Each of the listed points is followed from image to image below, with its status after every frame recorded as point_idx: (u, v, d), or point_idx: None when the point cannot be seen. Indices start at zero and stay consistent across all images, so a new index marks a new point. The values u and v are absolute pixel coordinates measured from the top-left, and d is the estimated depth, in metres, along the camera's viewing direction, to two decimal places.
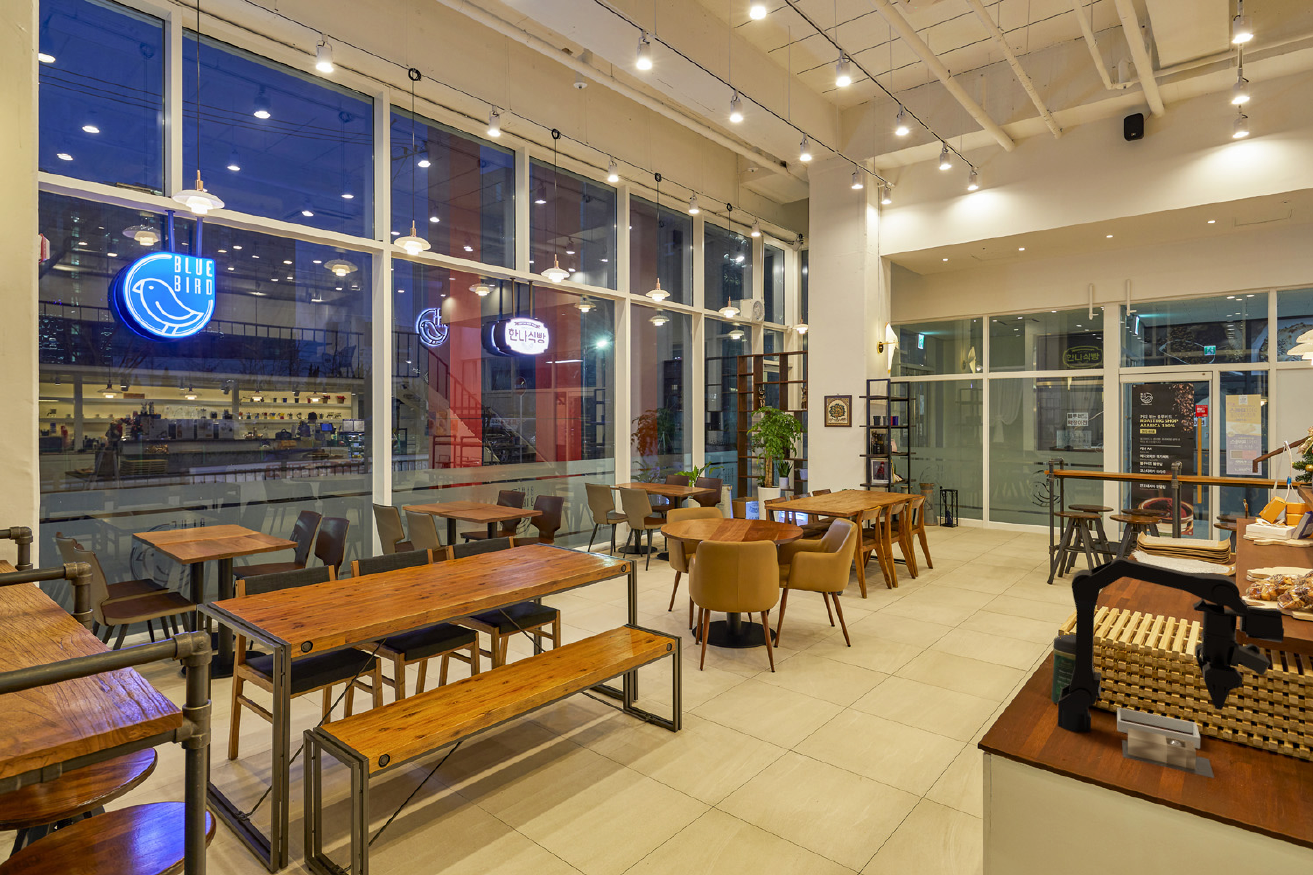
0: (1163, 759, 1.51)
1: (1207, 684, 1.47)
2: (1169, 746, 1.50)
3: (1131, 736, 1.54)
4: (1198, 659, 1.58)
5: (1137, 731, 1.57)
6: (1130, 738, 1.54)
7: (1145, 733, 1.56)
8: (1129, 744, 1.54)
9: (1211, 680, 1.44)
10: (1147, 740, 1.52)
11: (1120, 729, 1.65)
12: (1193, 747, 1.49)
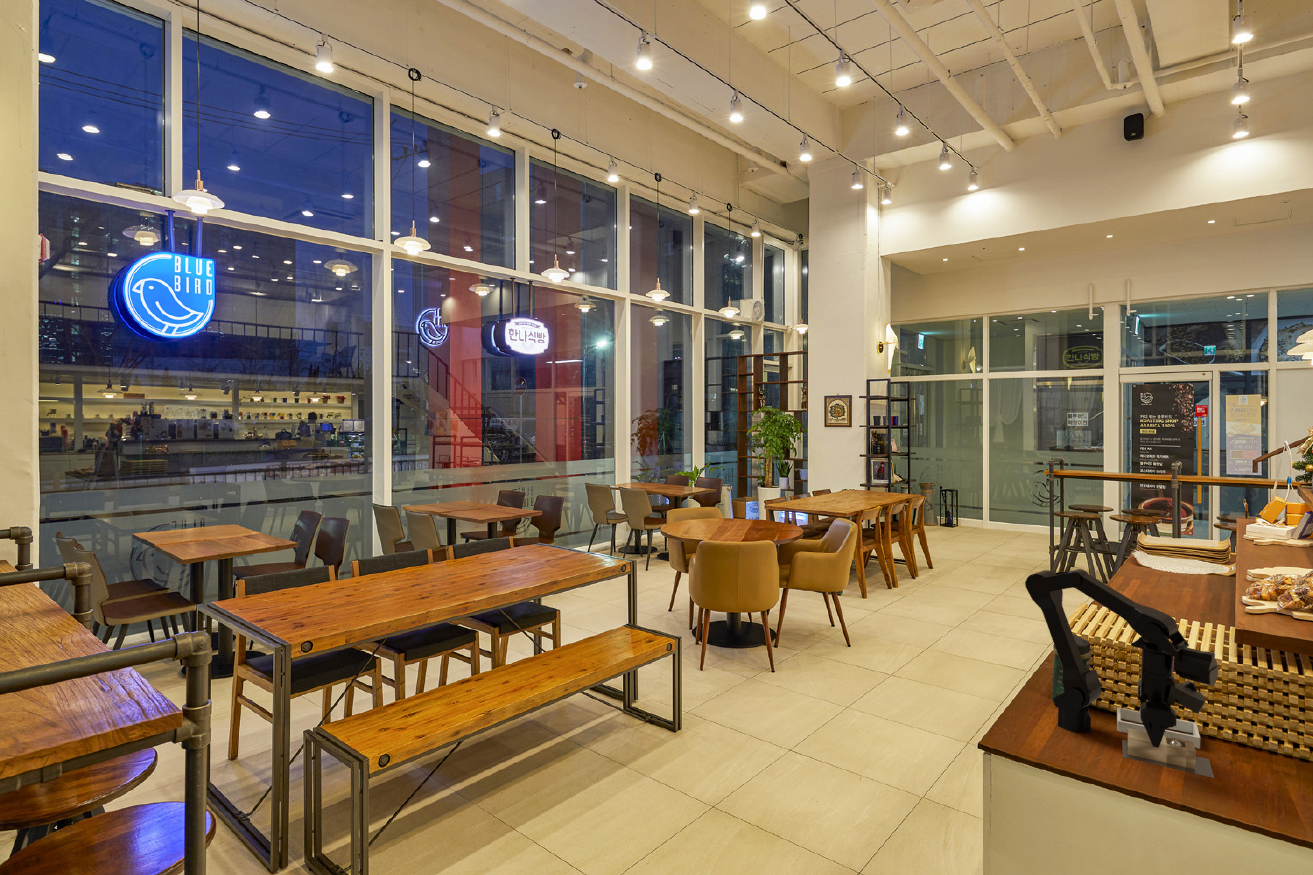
0: (1163, 759, 1.51)
1: (1144, 722, 1.49)
2: (1169, 746, 1.50)
3: (1131, 736, 1.54)
4: (1139, 695, 1.60)
5: (1137, 731, 1.57)
6: (1130, 738, 1.54)
7: (1145, 733, 1.56)
8: (1129, 744, 1.54)
9: (1147, 719, 1.46)
10: (1147, 740, 1.52)
11: (1120, 729, 1.65)
12: (1193, 747, 1.49)
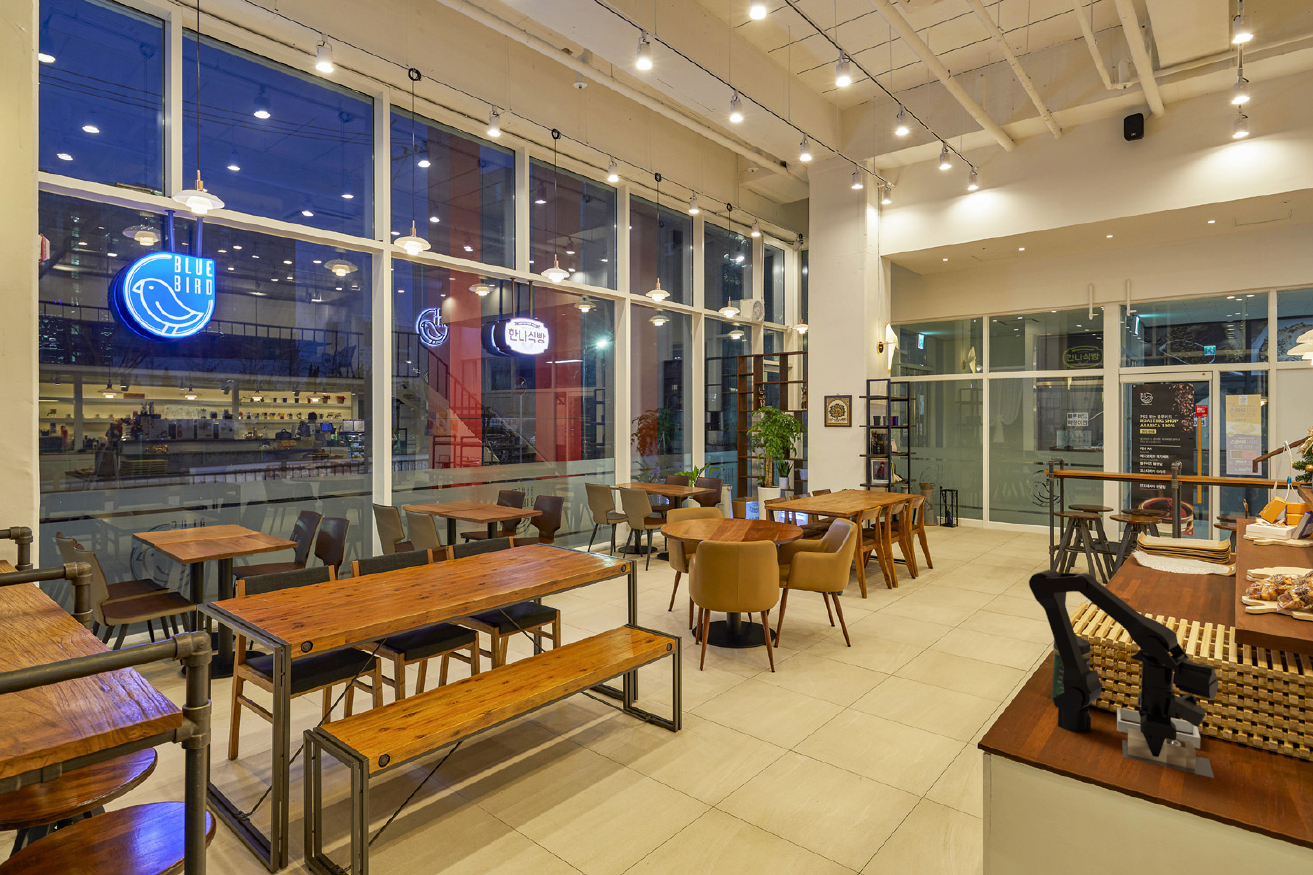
0: (1163, 759, 1.51)
1: None
2: (1169, 746, 1.50)
3: (1131, 736, 1.54)
4: (1140, 711, 1.58)
5: (1137, 731, 1.57)
6: (1130, 738, 1.54)
7: None
8: (1129, 744, 1.54)
9: (1147, 732, 1.47)
10: None
11: (1120, 729, 1.65)
12: (1193, 747, 1.49)
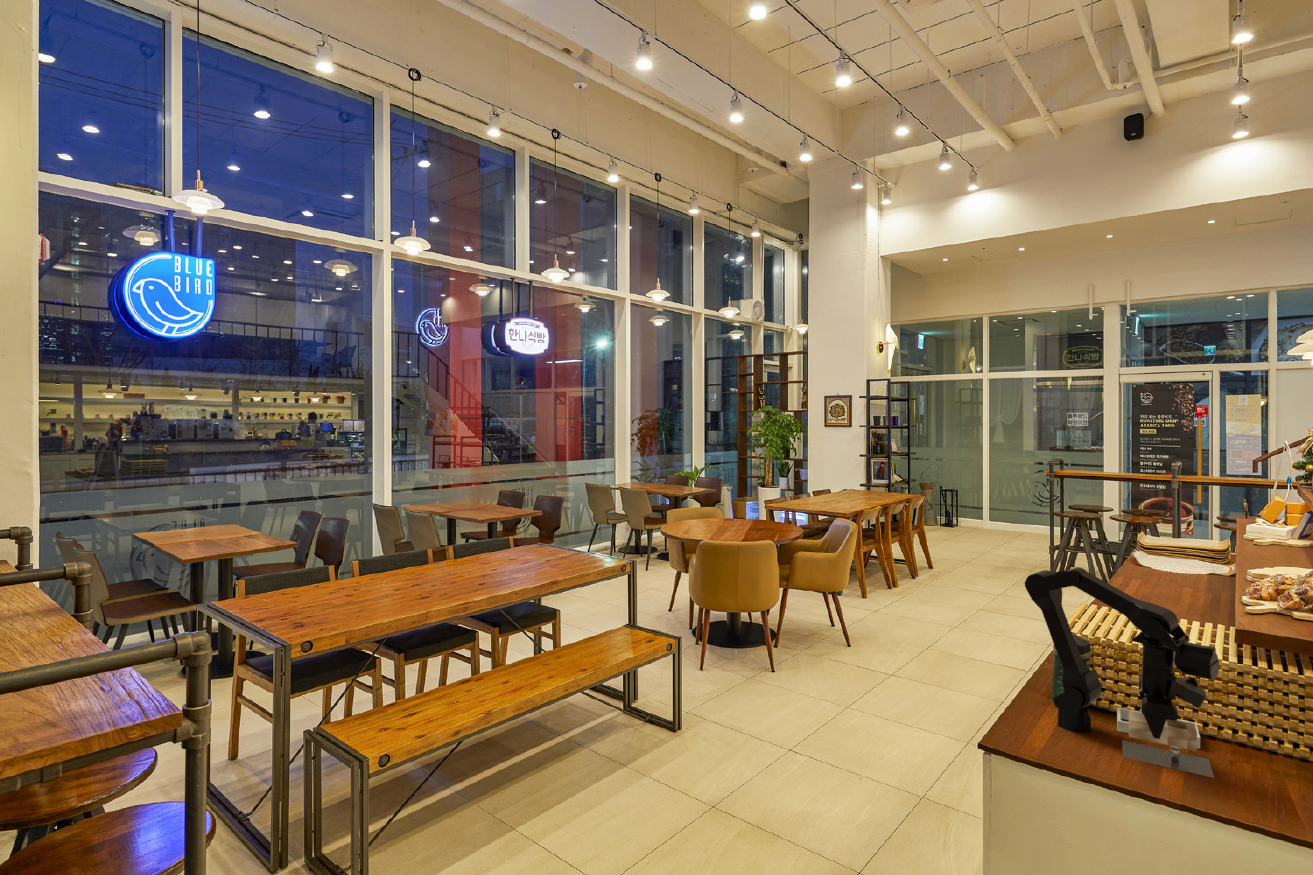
0: (1164, 741, 1.51)
1: None
2: (1170, 728, 1.50)
3: (1132, 718, 1.54)
4: (1141, 693, 1.58)
5: (1138, 714, 1.56)
6: (1131, 720, 1.54)
7: None
8: (1130, 726, 1.54)
9: (1148, 714, 1.46)
10: None
11: (1120, 729, 1.65)
12: (1194, 729, 1.49)
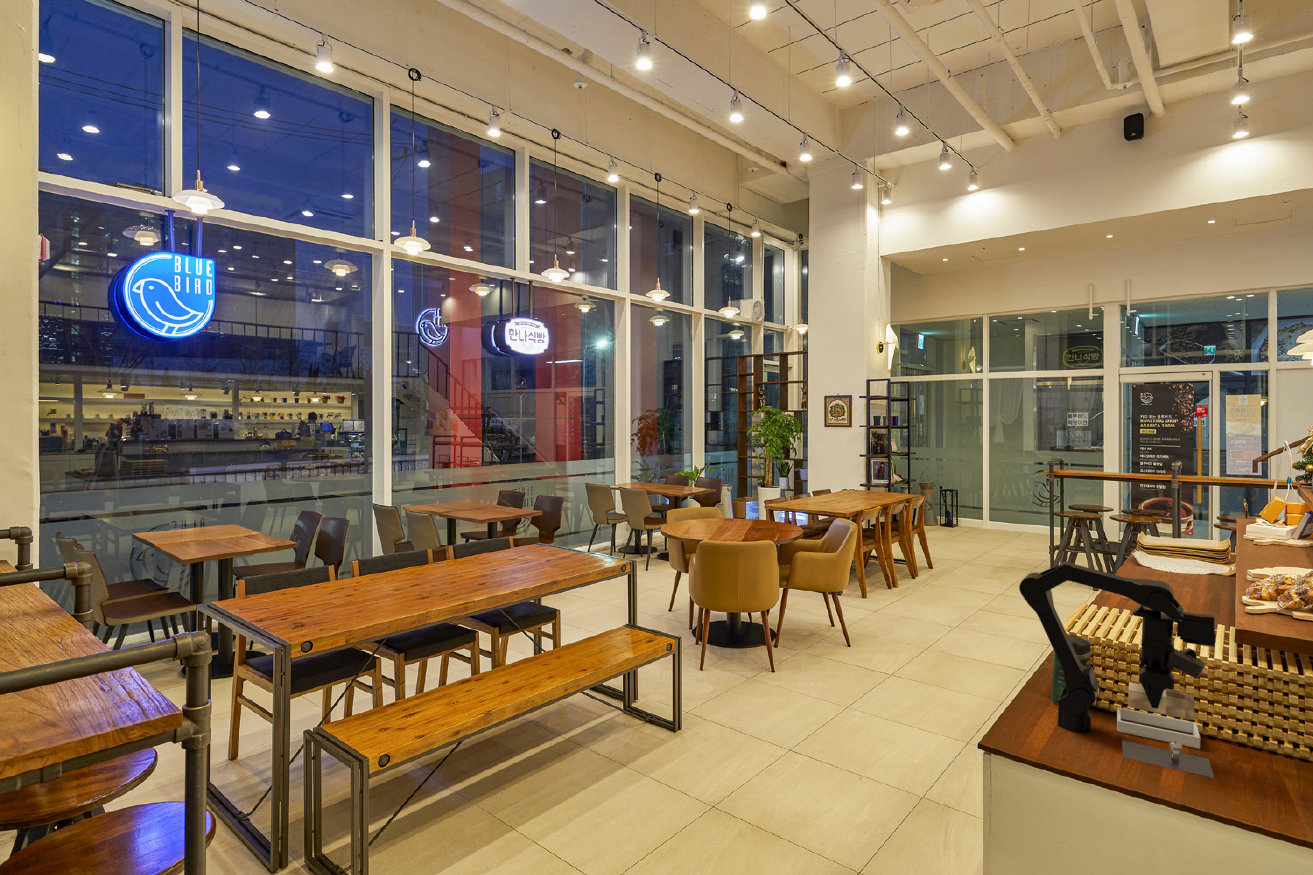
0: (1162, 711, 1.54)
1: (1143, 684, 1.54)
2: (1168, 698, 1.53)
3: (1131, 689, 1.58)
4: (1141, 665, 1.62)
5: (1138, 685, 1.60)
6: (1130, 691, 1.57)
7: None
8: (1129, 696, 1.58)
9: (1145, 683, 1.50)
10: None
11: (1120, 729, 1.65)
12: (1192, 699, 1.52)
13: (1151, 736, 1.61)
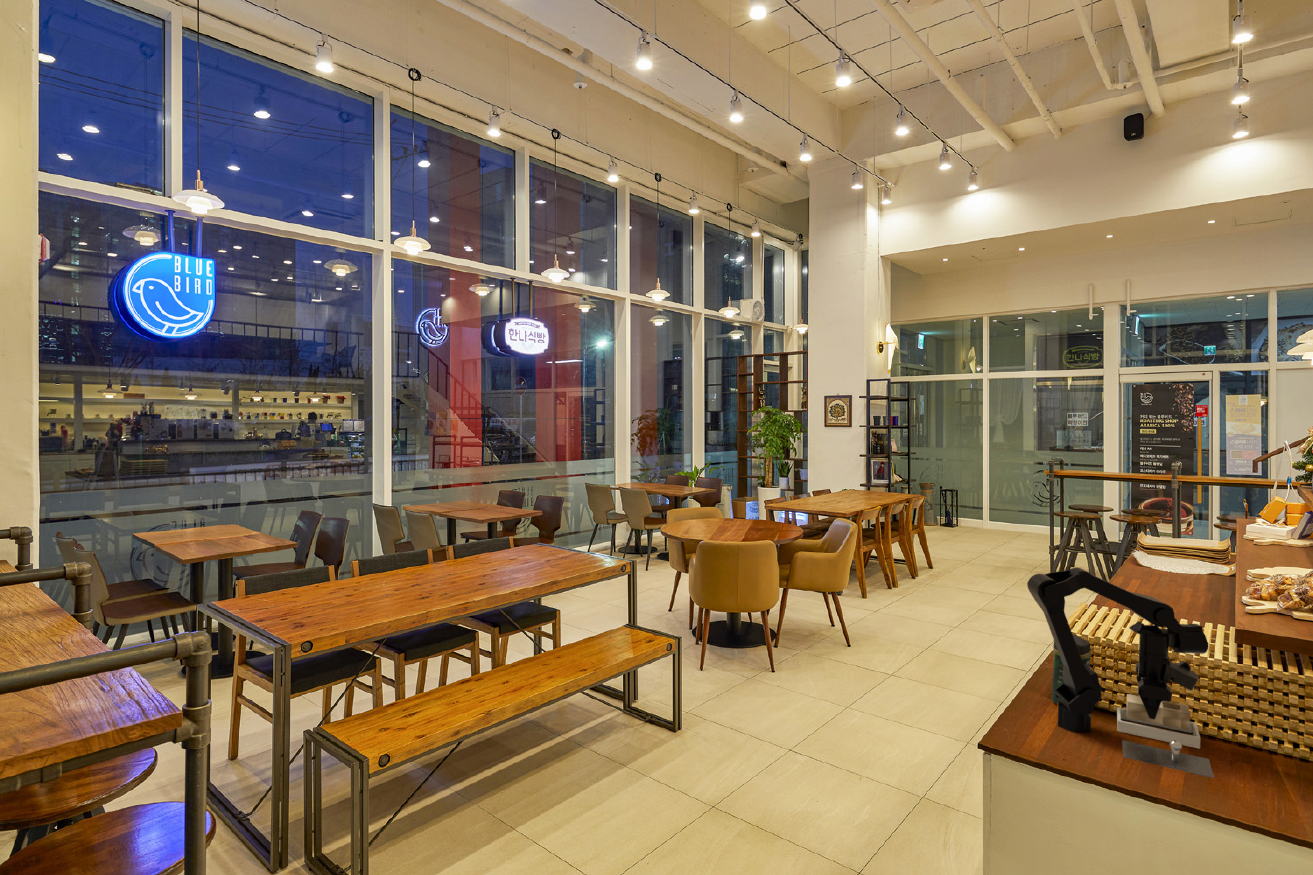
0: (1159, 722, 1.62)
1: None
2: (1165, 709, 1.61)
3: (1130, 700, 1.65)
4: (1138, 678, 1.69)
5: (1135, 696, 1.68)
6: (1129, 702, 1.65)
7: None
8: (1128, 708, 1.65)
9: (1144, 695, 1.58)
10: None
11: (1120, 729, 1.65)
12: (1187, 710, 1.60)
13: (1151, 736, 1.61)
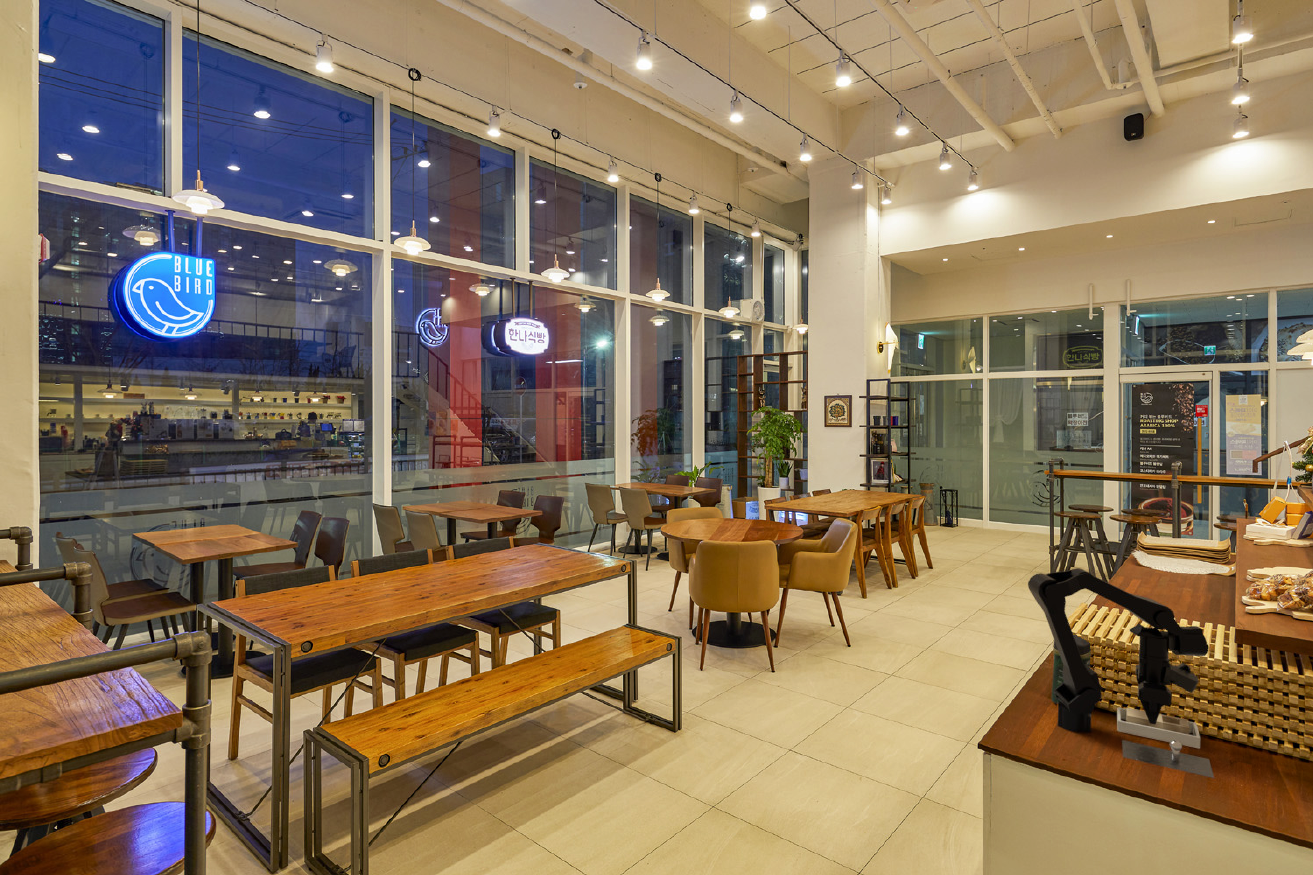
0: None
1: (1141, 701, 1.60)
2: (1165, 723, 1.61)
3: (1129, 714, 1.66)
4: (1138, 678, 1.71)
5: (1135, 710, 1.68)
6: (1128, 716, 1.65)
7: (1142, 712, 1.67)
8: None
9: (1144, 698, 1.58)
10: (1145, 718, 1.64)
11: (1120, 729, 1.65)
12: (1187, 724, 1.61)
13: (1151, 736, 1.61)
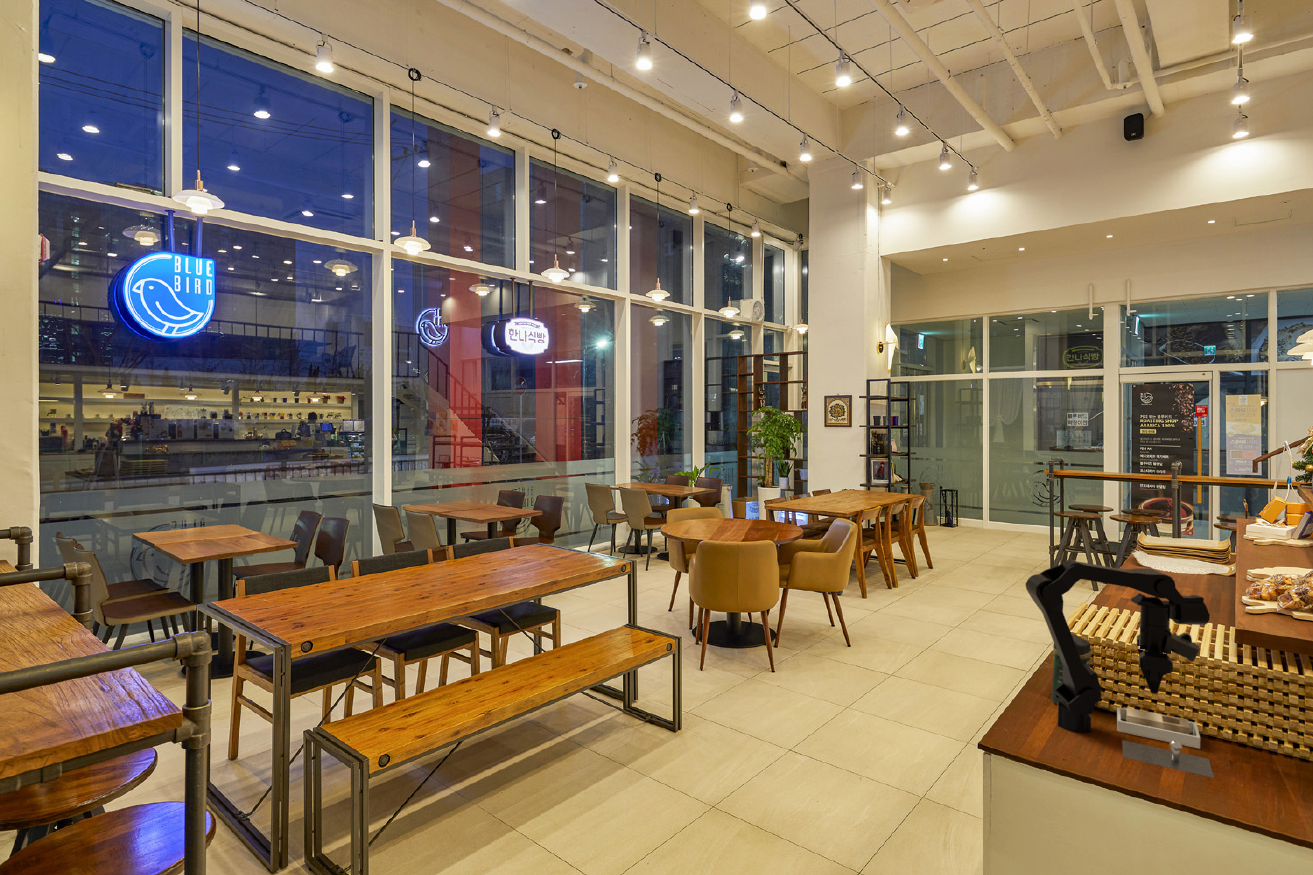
0: None
1: (1143, 670, 1.60)
2: (1165, 723, 1.61)
3: (1129, 714, 1.66)
4: None
5: (1135, 710, 1.68)
6: (1128, 716, 1.65)
7: (1142, 712, 1.67)
8: None
9: (1145, 666, 1.57)
10: (1145, 718, 1.64)
11: (1120, 729, 1.65)
12: (1187, 724, 1.61)
13: (1151, 736, 1.61)
